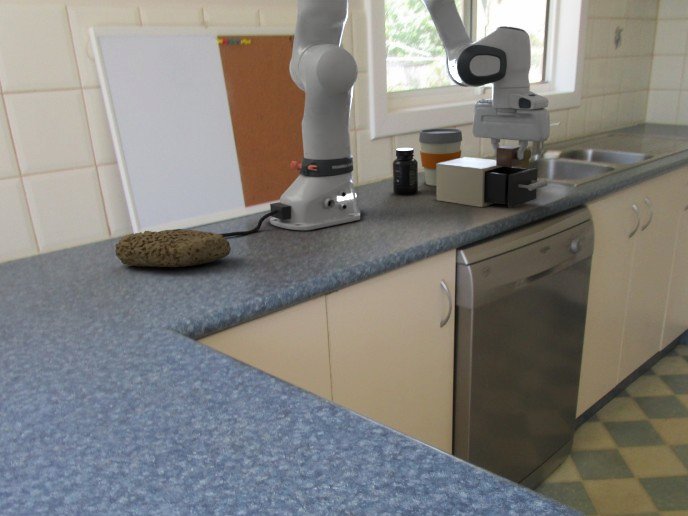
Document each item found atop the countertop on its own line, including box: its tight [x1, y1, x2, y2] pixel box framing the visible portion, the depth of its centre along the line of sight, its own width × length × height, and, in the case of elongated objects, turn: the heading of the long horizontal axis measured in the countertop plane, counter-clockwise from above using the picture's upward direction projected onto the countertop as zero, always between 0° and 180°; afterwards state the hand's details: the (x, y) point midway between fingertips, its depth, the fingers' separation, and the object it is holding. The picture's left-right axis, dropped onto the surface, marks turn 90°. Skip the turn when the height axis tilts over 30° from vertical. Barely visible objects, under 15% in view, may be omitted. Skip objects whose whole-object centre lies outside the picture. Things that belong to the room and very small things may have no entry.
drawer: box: [484, 166, 549, 208], centre depth 166 cm, size 18×11×8 cm, turn 49°
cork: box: [514, 147, 532, 170], centre depth 185 cm, size 6×6×11 cm
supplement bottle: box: [392, 147, 419, 196], centre depth 182 cm, size 7×7×12 cm
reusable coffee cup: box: [418, 127, 463, 187], centre depth 194 cm, size 13×12×15 cm
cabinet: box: [436, 156, 503, 208], centre depth 172 cm, size 15×13×10 cm
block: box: [495, 144, 521, 167], centre depth 163 cm, size 4×4×4 cm
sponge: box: [114, 228, 232, 268], centre depth 126 cm, size 13×8×20 cm
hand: (508, 158), depth 163 cm, fingers closed on block, 4 cm apart
